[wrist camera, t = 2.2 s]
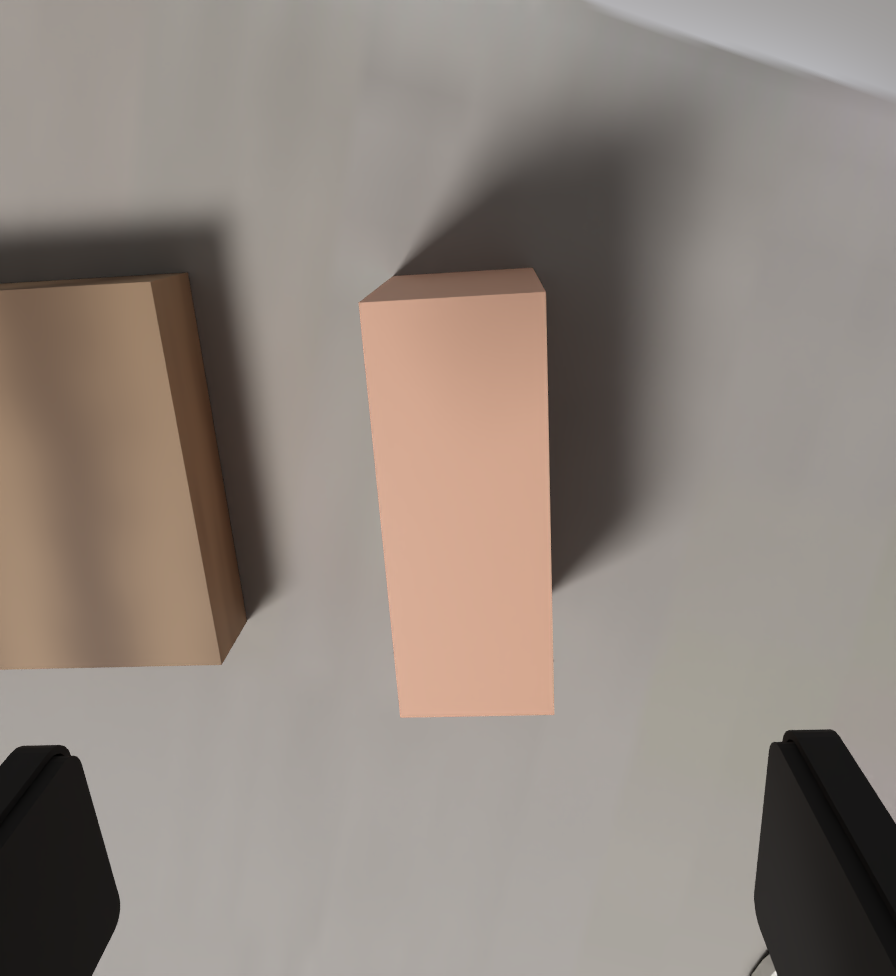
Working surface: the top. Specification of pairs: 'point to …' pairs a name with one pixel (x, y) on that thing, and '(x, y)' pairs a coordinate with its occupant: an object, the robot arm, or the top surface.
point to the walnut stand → (110, 480)
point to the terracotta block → (464, 488)
